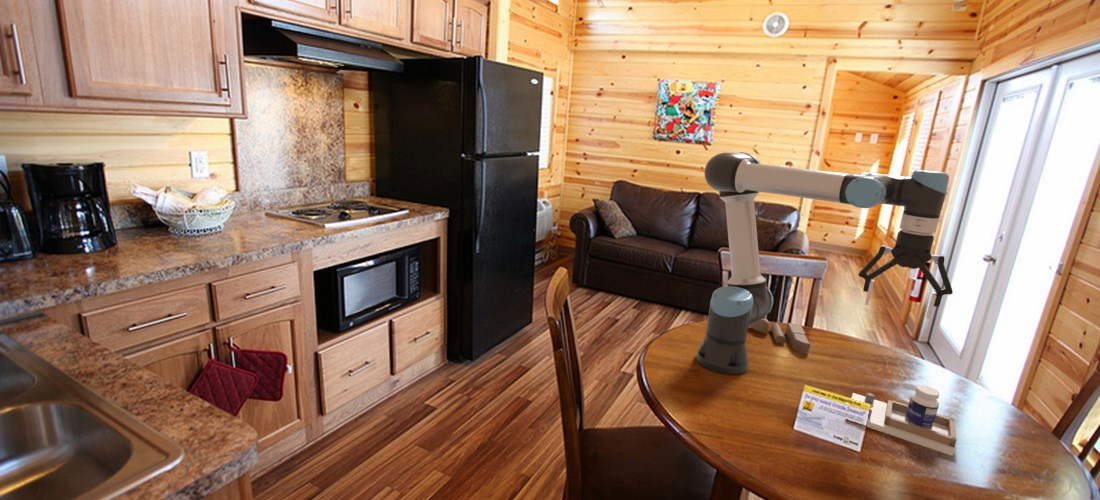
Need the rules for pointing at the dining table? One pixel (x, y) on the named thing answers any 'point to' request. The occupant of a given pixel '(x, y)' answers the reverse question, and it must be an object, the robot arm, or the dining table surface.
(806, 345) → the wooden block set
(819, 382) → the dining table surface
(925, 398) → the pill bottle
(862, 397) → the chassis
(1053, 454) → the dining table surface
